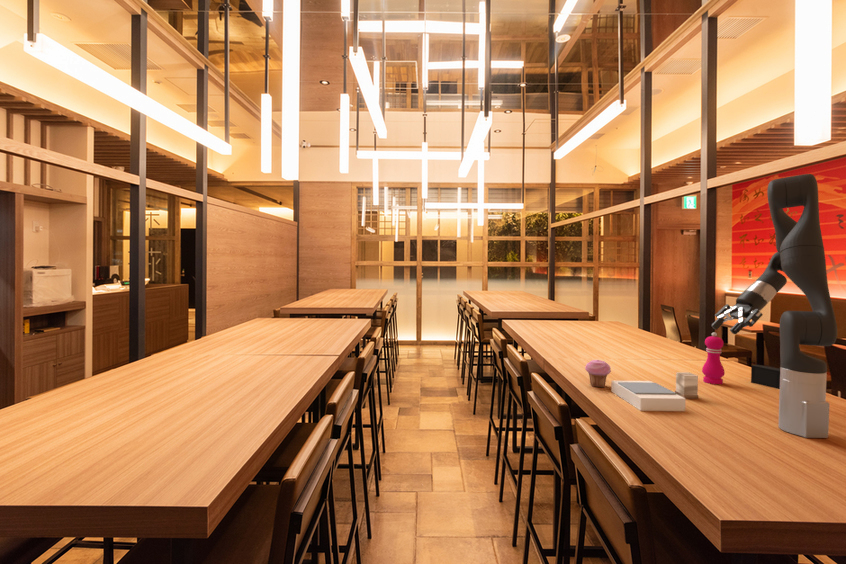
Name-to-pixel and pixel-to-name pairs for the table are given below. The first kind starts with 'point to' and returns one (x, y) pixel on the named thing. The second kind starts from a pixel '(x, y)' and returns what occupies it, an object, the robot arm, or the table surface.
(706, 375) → the pepper mill
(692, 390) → the memo note cube
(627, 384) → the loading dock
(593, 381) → the cupcake
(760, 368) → the digital camera
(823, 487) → the table surface
